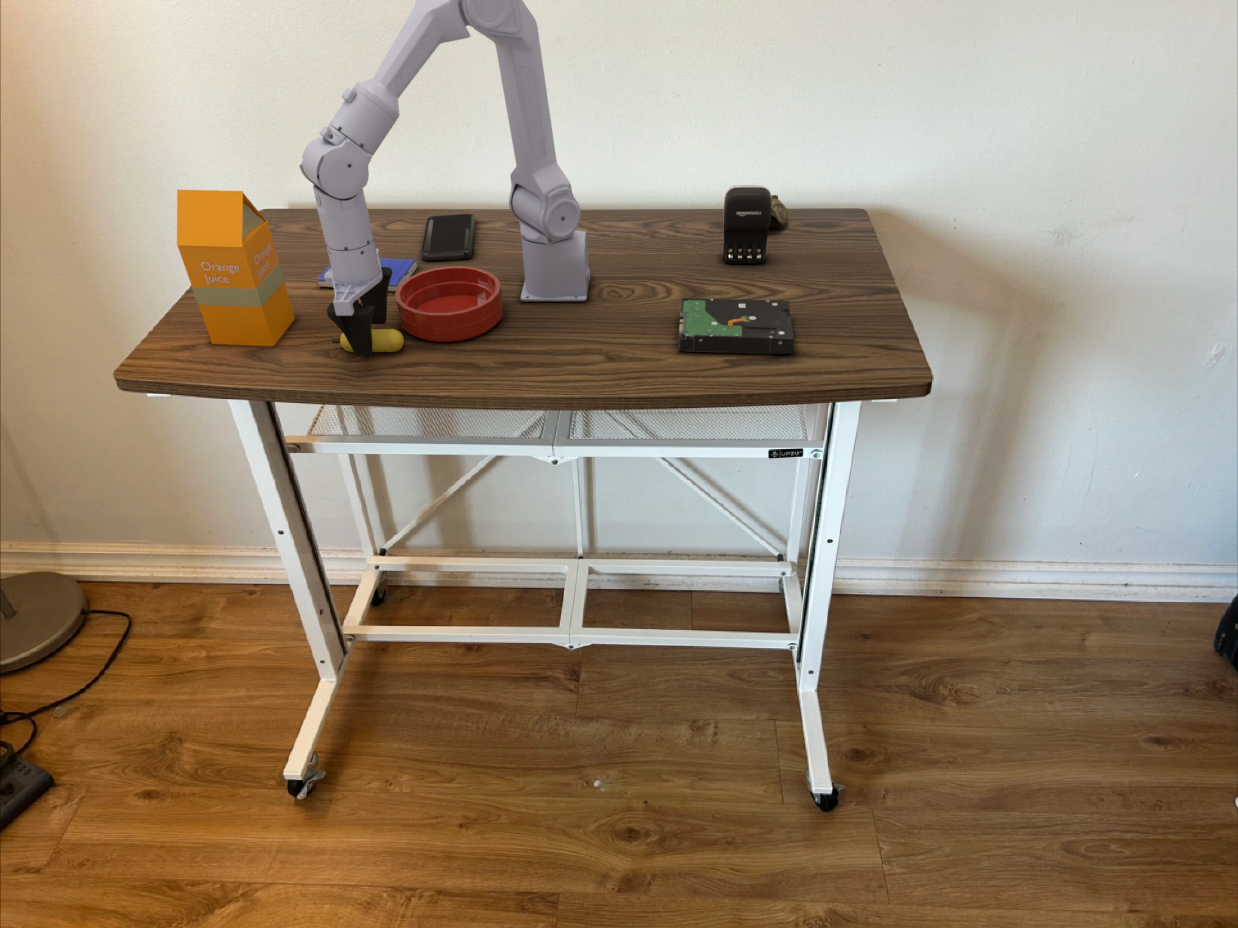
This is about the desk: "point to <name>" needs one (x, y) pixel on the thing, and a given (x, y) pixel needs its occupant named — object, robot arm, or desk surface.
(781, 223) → the fossilized seashell
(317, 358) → the desk surface
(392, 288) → the blue book
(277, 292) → the orange juice
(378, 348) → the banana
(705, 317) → the disk drive
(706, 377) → the desk surface
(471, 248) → the phone
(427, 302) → the bowl
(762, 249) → the battery charger
